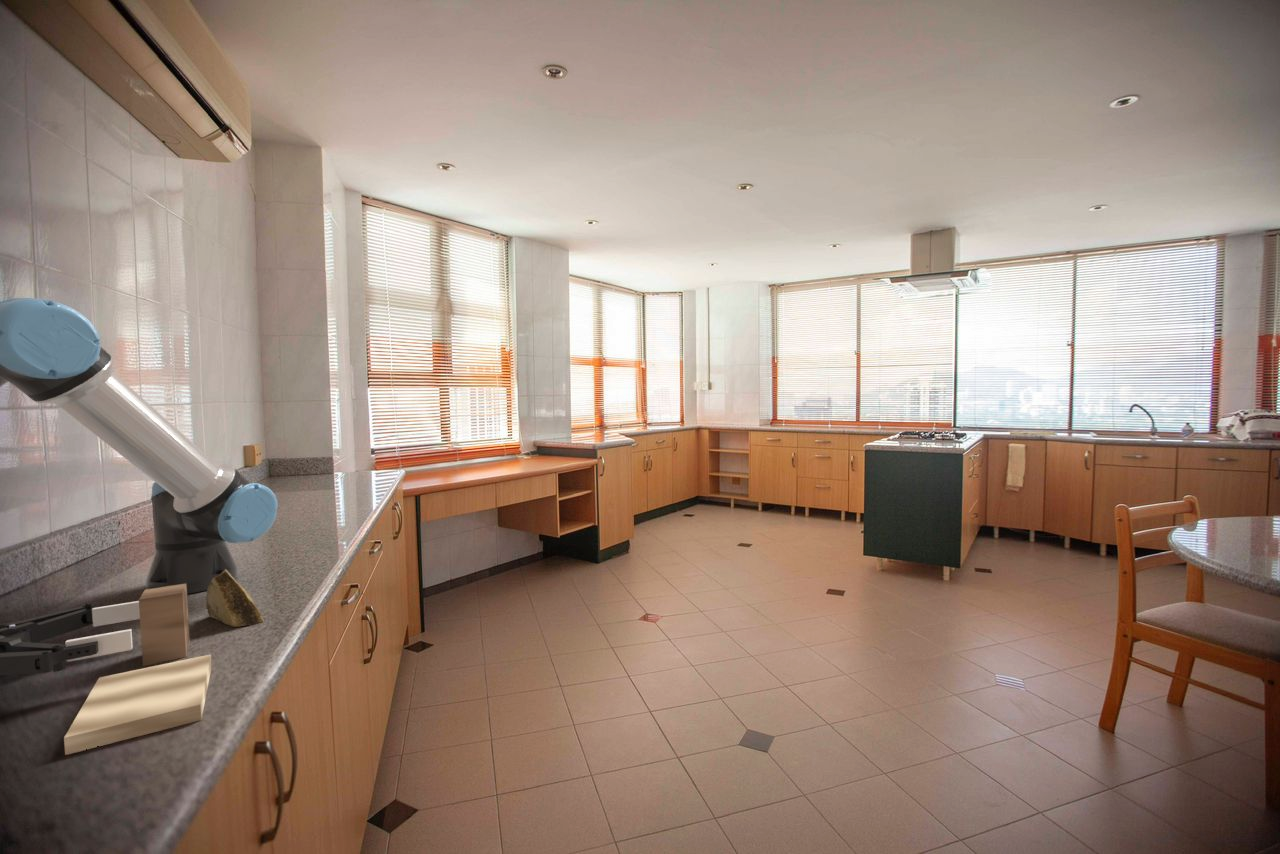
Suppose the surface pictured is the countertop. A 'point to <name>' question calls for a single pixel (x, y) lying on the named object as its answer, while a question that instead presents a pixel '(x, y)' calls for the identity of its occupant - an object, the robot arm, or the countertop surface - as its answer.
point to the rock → (231, 602)
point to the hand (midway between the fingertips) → (141, 622)
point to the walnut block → (164, 624)
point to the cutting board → (140, 703)
